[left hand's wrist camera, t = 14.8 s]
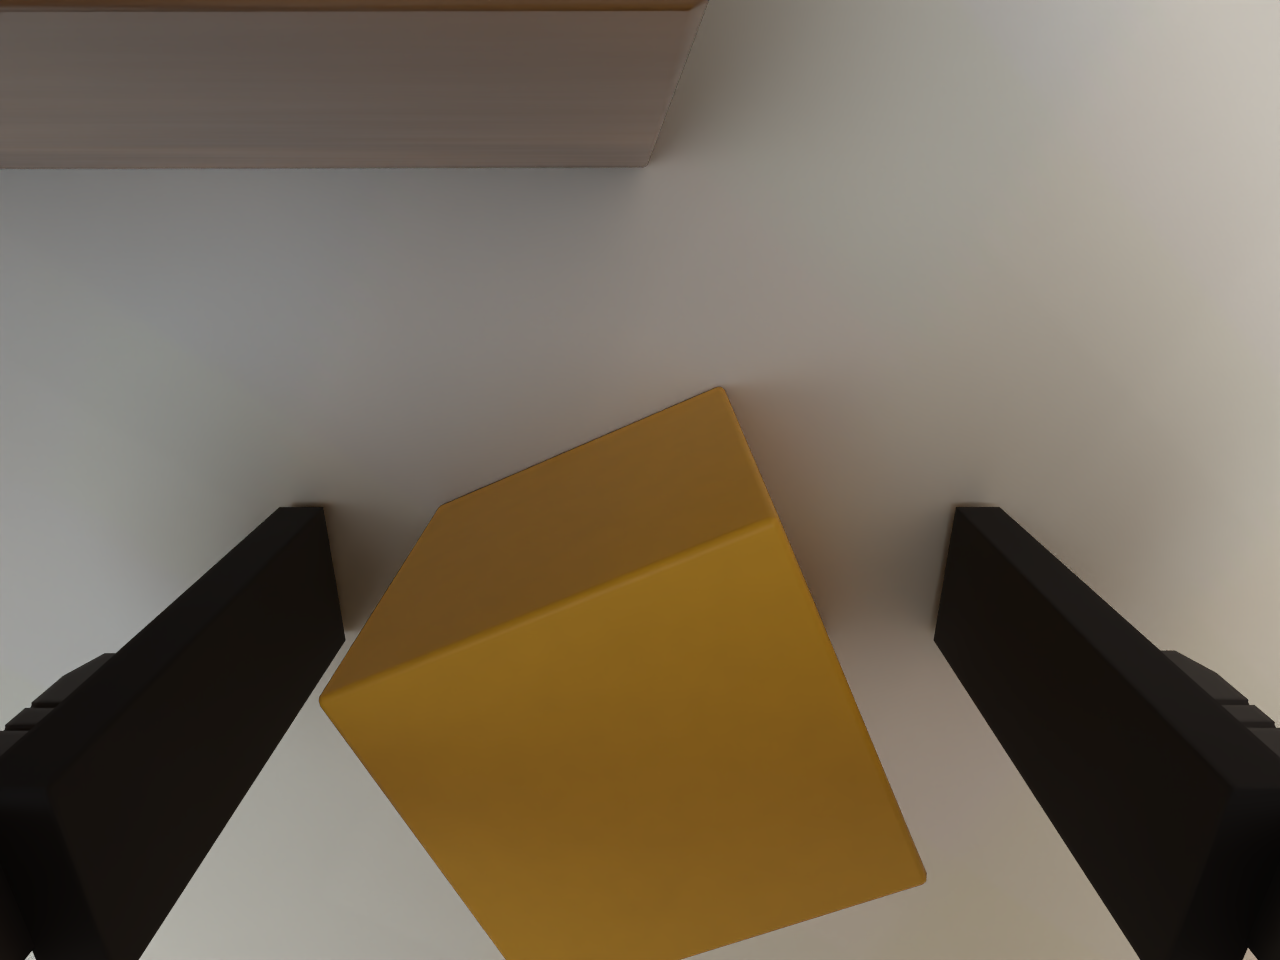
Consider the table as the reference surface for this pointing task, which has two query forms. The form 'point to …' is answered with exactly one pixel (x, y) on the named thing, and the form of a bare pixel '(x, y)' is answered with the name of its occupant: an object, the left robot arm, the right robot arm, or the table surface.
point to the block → (623, 706)
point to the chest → (338, 82)
